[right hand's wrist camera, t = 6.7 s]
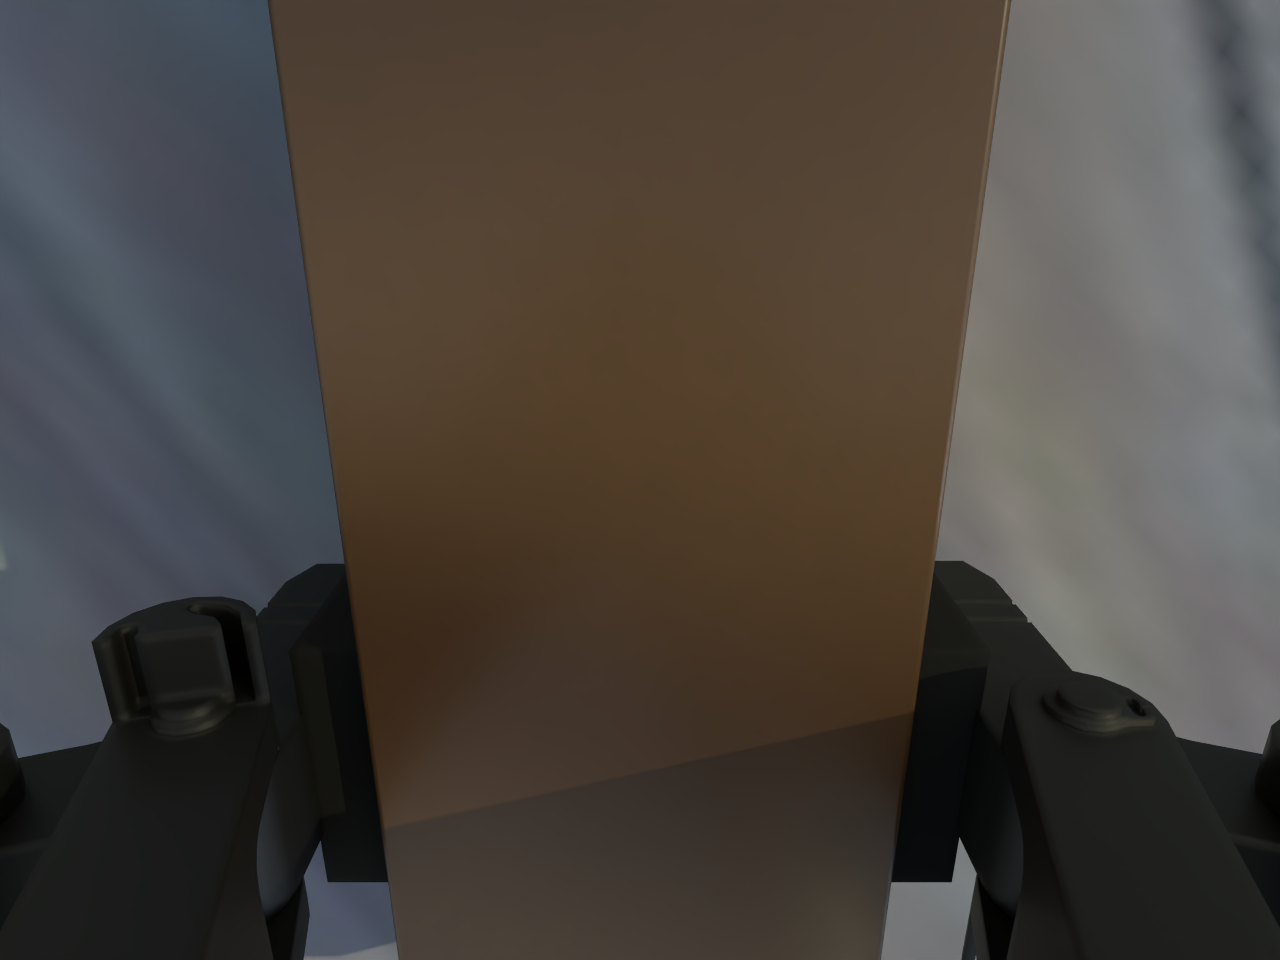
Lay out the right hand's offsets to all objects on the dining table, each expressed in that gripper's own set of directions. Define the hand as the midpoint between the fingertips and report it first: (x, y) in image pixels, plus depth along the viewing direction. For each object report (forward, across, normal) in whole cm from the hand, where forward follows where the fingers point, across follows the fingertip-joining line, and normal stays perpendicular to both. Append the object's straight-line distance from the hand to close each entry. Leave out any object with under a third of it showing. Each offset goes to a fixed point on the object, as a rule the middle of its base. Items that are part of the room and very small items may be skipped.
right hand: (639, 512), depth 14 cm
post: (+1, 0, -20) cm, 20 cm away
